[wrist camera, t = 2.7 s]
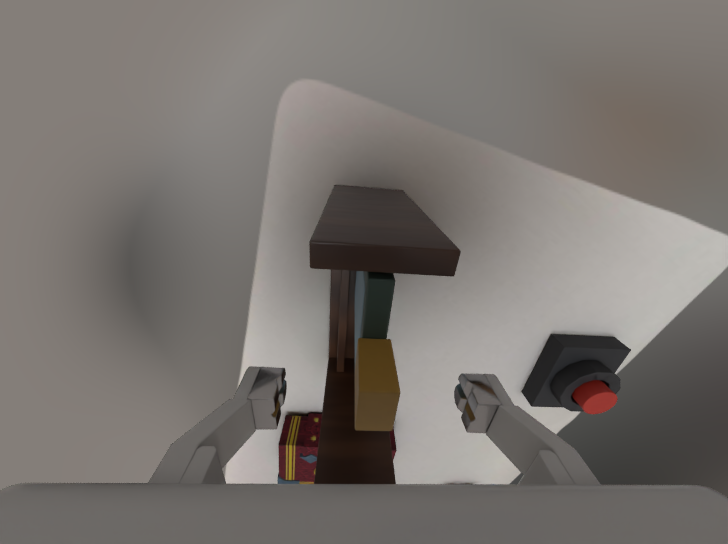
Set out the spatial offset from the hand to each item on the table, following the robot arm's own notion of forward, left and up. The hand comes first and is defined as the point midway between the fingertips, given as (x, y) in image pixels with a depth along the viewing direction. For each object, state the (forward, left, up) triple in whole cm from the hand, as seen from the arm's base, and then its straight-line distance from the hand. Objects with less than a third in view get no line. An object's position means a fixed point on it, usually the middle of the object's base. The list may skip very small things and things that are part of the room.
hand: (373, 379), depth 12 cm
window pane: (0, 0, -14) cm, 14 cm away
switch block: (+14, +27, -15) cm, 34 cm away
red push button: (+14, +27, -12) cm, 33 cm away
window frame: (+4, 0, -15) cm, 16 cm away
